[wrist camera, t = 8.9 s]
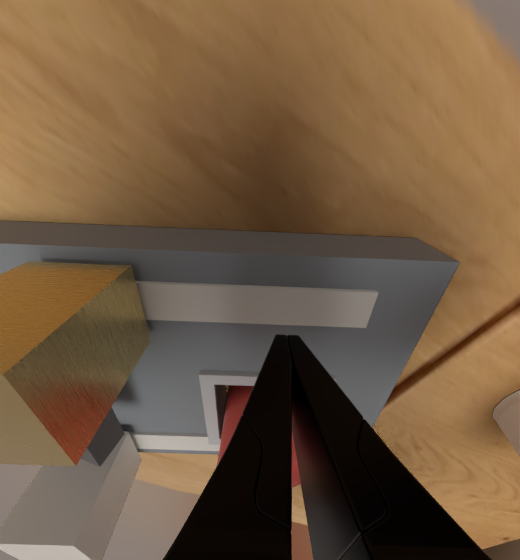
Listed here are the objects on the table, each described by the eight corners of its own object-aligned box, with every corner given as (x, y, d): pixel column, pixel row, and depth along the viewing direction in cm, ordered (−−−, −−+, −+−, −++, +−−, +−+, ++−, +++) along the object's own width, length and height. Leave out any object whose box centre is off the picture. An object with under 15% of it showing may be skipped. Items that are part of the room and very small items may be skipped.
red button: (293, 398, 18) (305, 492, 13) (231, 396, 18) (219, 489, 13) (301, 354, 16) (319, 449, 11) (229, 352, 15) (213, 446, 10)
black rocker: (124, 434, 13) (100, 467, 11) (44, 403, 14) (13, 429, 13) (102, 389, 11) (69, 423, 9) (11, 358, 12) (-29, 384, 11)
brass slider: (151, 340, 11) (75, 466, 6) (67, 336, 11) (-65, 462, 6) (130, 265, 9) (2, 375, 4) (28, 261, 9) (-201, 367, 4)
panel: (343, 419, 20) (357, 463, 17) (98, 411, 20) (70, 454, 17) (416, 237, 12) (466, 265, 9) (-7, 220, 12) (-96, 242, 9)
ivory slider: (141, 459, 17) (99, 565, 13) (88, 458, 17) (28, 563, 13) (128, 431, 15) (73, 545, 11) (68, 429, 15) (-12, 543, 11)
